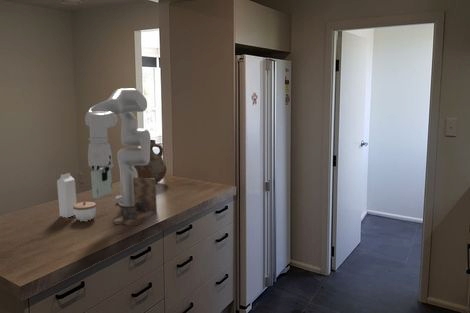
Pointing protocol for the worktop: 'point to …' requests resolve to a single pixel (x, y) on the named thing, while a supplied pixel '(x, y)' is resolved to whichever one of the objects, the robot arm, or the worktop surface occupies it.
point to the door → (100, 183)
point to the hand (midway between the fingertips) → (101, 180)
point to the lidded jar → (84, 210)
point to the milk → (66, 195)
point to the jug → (153, 165)
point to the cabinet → (140, 202)
